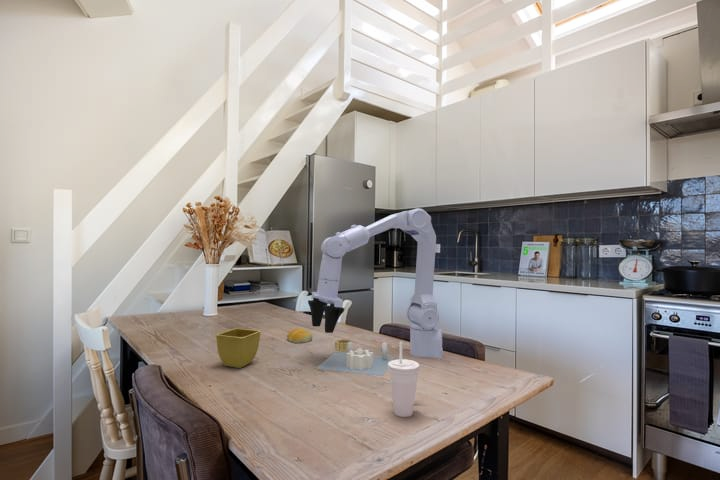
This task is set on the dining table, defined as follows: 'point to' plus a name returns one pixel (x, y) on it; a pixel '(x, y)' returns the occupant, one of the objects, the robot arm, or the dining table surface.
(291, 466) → the dining table surface
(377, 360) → the gear board
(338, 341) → the brass gear
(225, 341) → the flower pot
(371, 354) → the gear
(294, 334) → the bread roll
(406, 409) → the smoothie
